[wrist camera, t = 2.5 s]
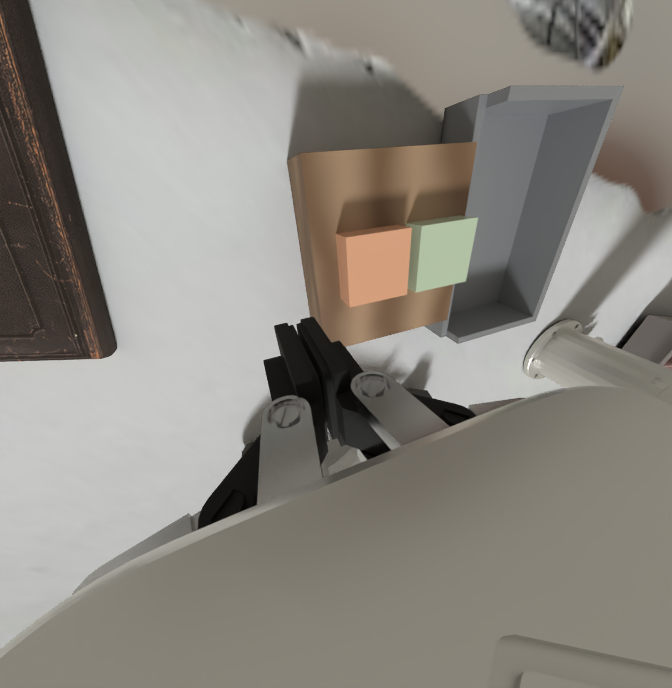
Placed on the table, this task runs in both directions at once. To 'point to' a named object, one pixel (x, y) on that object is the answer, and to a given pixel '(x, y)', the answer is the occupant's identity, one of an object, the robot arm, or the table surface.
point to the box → (521, 195)
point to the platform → (373, 225)
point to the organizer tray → (653, 340)
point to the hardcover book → (41, 217)
